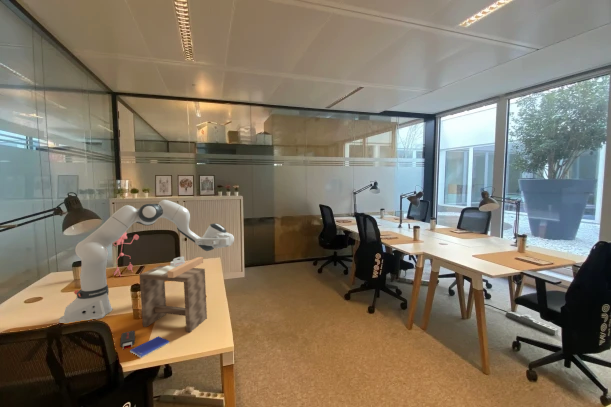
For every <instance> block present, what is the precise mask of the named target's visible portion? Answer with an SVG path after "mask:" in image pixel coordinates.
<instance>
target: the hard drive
mask: <svg viewBox="0 0 611 407" xmlns="http://www.w3.org/2000/svg"><path fill="white" fill-rule="evenodd" d="M166 344H167V345H168V344H170V341H169V340H167V339H166V338H164V337H161V336H159V335H158V336H156V337H154V338H152V339H150V340H148V341H146V342H144V343H142V344H140V345H138V346H135V347H134V348H133V347H132V349H131V348H130V350H129V352H130V353H131V354H132V353H133V355H134V354H135V356H136V355H137V357H138V358H140V359H142V358H145V357H146V356H148V355H150V354H152V353H154V352H155V350H156V351H157V350H160V349H161V348H163V347H165V346H167V345H166ZM160 347H161V348H160ZM153 351H154V352H153Z"/></svg>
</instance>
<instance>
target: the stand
mask: <svg viewBox="0 0 611 407" xmlns="http://www.w3.org/2000/svg"><path fill="white" fill-rule="evenodd" d="M175 267H178V266H170V265H168V264H167V265H159V266H156V267H154V268H152V269H149V270H146V271H144V272H141V273H140V274H139V287H140V289H139V290H140V303H141V316H142V327H144V328H147V327H149V326H150V325H152V324H153V323H155V322H157V321H158V320H159V319H160V318H162V317H163V316H165V315H176V316H181V317H183V316H184V317H185V329H186V330H185V331H186V333H191V332H193V331H194V330H195V329H196V328H197V327H199V324H200V325H201V324H202V323H203V322H204V321H206V320H207V319H208V314H207V313H208V311H207V290H206V272H205V271H206V268H199V267H194V268H192V269H190V270H188V271H186V272H184V273H182V274H180V275H178V276H176V277H174V278H168V271H169V270H171V269H173V268H175ZM165 281H167V282H175V283H176V282H178V283H183V291H184V293H183V294H184V295H183V296H184V307H180V306H179V307H178V306H171V305H167V302H166V301H167V300H166V284H165ZM205 319H206V320H205ZM192 330H193V331H192Z"/></svg>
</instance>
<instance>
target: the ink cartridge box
mask: <svg viewBox="0 0 611 407" xmlns="http://www.w3.org/2000/svg"><path fill="white" fill-rule="evenodd" d="M184 263H186V261H185V256H184V255H183V256H178V257H175V258H173V259H172V261H170V265H169V266H180V265H182V264H184Z"/></svg>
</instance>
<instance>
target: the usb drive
mask: <svg viewBox="0 0 611 407" xmlns="http://www.w3.org/2000/svg"><path fill="white" fill-rule="evenodd" d="M120 336H121V337H120V347H121V348H122V347H123V348H122V350H123V349H124V350H127V349H126V348H128V349H131V347H132V348H133V346H134V345H135V342H136V331H135V330H130V331H125V332H122V333H121V335H120Z"/></svg>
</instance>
